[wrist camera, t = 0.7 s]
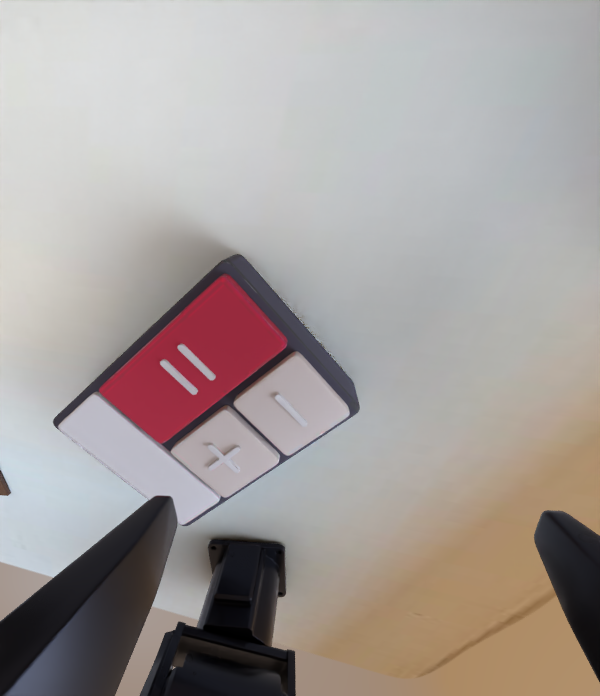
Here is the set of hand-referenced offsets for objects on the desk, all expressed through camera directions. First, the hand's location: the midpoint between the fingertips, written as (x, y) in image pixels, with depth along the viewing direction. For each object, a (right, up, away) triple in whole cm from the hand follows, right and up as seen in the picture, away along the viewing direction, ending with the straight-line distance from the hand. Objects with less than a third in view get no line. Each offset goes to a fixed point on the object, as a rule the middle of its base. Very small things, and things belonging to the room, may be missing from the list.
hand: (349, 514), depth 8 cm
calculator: (-7, +1, +14) cm, 16 cm away
